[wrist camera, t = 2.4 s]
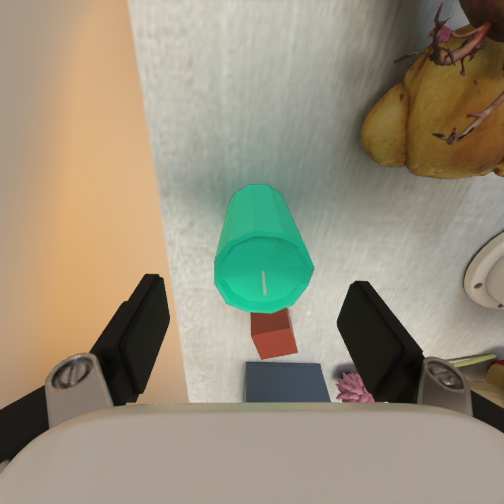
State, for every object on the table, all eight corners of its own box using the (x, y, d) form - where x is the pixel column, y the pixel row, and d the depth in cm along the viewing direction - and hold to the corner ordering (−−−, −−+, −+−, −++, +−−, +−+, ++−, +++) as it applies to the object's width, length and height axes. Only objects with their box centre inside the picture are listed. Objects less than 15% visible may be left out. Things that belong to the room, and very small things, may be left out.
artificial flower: (479, 320, 34) (326, 370, 34) (532, 365, 29) (351, 425, 28) (463, 341, 38) (327, 385, 38) (507, 383, 33) (348, 436, 33)
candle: (254, 250, 24) (258, 346, 14) (214, 211, 22) (184, 290, 11) (299, 216, 22) (343, 297, 12) (261, 169, 20) (275, 218, 10)
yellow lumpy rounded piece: (345, 179, 20) (398, 205, 13) (361, 38, 16) (455, -38, 9) (488, 165, 20) (620, 183, 13) (548, 16, 15) (805, -81, 8)
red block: (250, 307, 28) (250, 336, 24) (284, 299, 28) (290, 327, 24) (259, 329, 31) (261, 359, 27) (291, 323, 30) (297, 353, 26)
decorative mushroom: (438, 446, 30) (607, 493, 24) (439, 364, 30) (606, 392, 25) (414, 398, 40) (529, 424, 35) (415, 337, 41) (529, 353, 35)
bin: (246, 361, 34) (245, 409, 28) (319, 363, 35) (333, 411, 29) (242, 400, 40) (241, 447, 34) (305, 402, 41) (315, 447, 35)
